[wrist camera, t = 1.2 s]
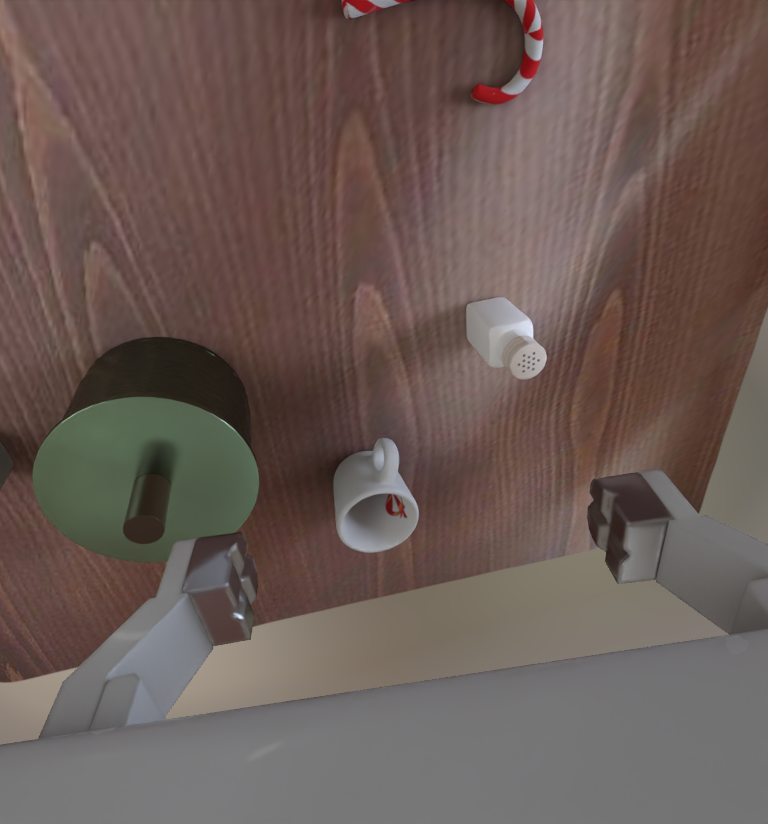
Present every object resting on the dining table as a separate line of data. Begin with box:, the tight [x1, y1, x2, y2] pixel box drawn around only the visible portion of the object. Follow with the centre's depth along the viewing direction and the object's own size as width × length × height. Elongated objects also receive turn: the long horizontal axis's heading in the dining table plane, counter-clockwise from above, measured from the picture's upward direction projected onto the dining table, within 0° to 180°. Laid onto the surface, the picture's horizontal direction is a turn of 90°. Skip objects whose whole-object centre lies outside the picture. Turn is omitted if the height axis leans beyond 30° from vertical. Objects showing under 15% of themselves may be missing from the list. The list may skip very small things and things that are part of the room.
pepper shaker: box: [466, 297, 547, 379], centre depth 48 cm, size 4×4×10 cm
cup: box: [333, 438, 419, 553], centre depth 54 cm, size 11×8×8 cm
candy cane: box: [341, 0, 543, 105], centre depth 39 cm, size 8×1×15 cm
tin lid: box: [32, 393, 259, 562], centre depth 39 cm, size 15×15×6 cm
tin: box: [63, 337, 251, 446], centre depth 45 cm, size 14×14×10 cm
